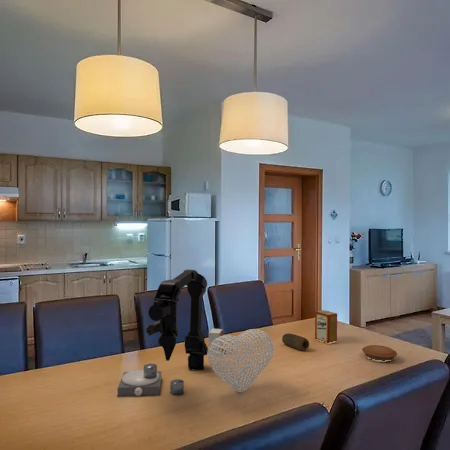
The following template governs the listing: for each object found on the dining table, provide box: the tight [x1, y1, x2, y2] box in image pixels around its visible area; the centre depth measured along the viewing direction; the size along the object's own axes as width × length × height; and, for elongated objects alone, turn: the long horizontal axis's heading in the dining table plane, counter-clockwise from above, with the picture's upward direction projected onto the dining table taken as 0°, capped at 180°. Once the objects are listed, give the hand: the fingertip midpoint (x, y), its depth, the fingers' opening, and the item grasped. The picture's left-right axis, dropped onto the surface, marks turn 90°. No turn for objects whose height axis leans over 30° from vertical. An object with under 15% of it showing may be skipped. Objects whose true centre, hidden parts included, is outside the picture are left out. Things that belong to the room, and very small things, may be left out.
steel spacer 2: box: [169, 378, 185, 396], centre depth 148 cm, size 5×5×4 cm
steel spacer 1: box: [143, 363, 158, 379], centre depth 153 cm, size 5×5×4 cm
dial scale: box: [117, 369, 163, 397], centre depth 152 cm, size 15×16×4 cm
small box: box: [208, 328, 224, 356], centre depth 194 cm, size 8×6×10 cm
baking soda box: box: [314, 309, 338, 343], centre depth 215 cm, size 10×6×16 cm
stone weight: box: [281, 332, 310, 351], centre depth 203 cm, size 15×7×7 cm, turn 38°
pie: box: [361, 344, 398, 361], centre depth 188 cm, size 16×16×5 cm
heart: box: [207, 328, 275, 393], centre depth 149 cm, size 28×16×22 cm, turn 130°
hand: (168, 356), depth 149 cm, fingers open, 9 cm apart
